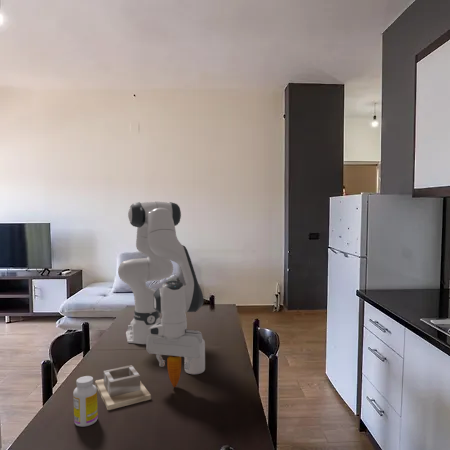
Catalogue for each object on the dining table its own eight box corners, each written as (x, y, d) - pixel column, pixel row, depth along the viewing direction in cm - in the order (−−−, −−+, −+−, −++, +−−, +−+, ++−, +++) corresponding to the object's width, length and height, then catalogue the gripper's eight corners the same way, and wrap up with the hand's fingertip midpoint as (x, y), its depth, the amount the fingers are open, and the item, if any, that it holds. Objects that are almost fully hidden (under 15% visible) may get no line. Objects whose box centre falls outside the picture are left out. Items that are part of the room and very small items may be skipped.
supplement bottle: (100, 415, 120) (99, 374, 119) (94, 427, 113) (92, 384, 112) (78, 415, 119) (77, 374, 119) (70, 428, 113) (69, 384, 112)
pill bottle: (186, 376, 146) (186, 336, 145) (183, 367, 154) (182, 330, 153) (207, 373, 148) (206, 334, 147) (202, 365, 156) (202, 328, 155)
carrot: (174, 382, 141) (174, 341, 140) (184, 386, 138) (184, 345, 137) (164, 387, 137) (163, 345, 136) (174, 392, 134) (173, 349, 133)
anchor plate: (95, 384, 140) (94, 367, 139) (133, 376, 146) (133, 359, 146) (107, 410, 122) (107, 390, 122) (150, 399, 129) (150, 380, 129)
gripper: (205, 327, 136) (205, 366, 137) (151, 323, 142) (152, 361, 142) (199, 333, 130) (199, 374, 131) (143, 329, 136) (144, 367, 136)
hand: (174, 367), depth 137 cm, fingers open, 8 cm apart
